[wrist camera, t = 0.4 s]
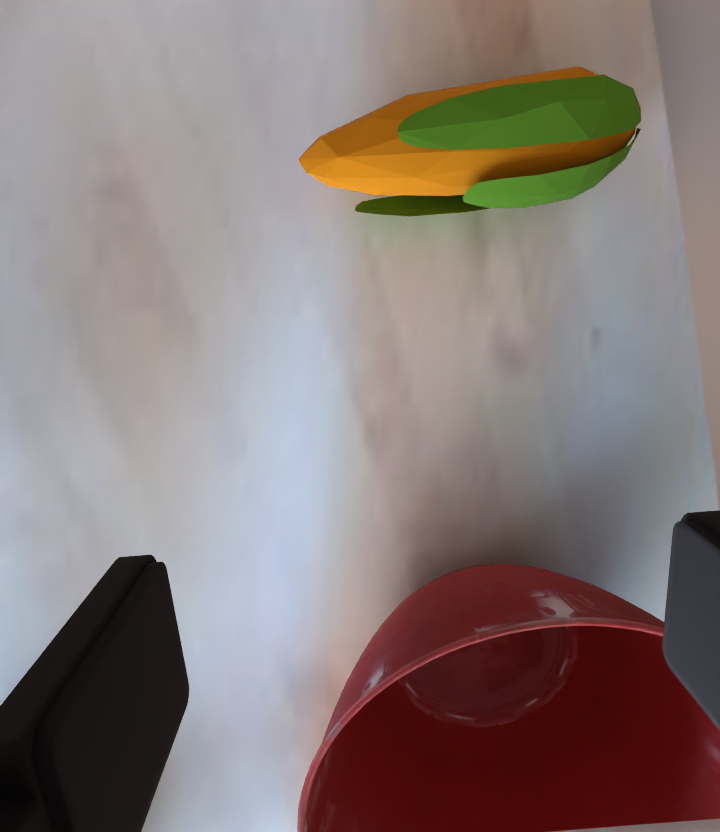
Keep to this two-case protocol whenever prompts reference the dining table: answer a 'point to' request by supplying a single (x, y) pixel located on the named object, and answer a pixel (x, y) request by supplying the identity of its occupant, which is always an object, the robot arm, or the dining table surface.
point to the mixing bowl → (513, 716)
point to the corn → (482, 144)
